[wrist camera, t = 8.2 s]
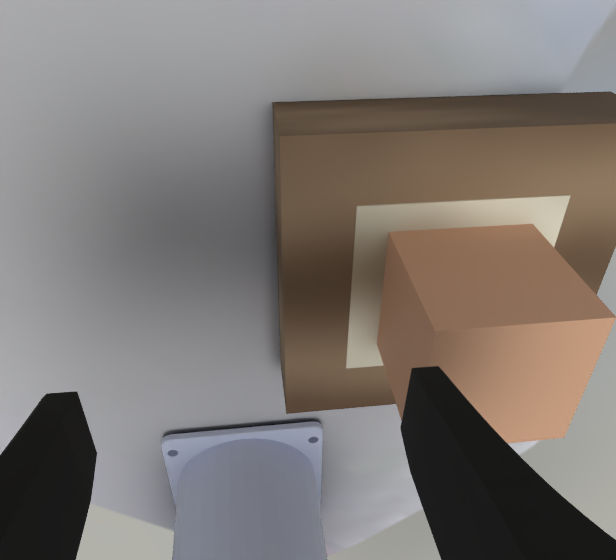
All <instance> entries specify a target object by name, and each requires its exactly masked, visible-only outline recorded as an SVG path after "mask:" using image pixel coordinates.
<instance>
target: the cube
mask: <svg viewBox="0 0 616 560" xmlns="http://www.w3.org/2000/svg"><path fill="white" fill-rule="evenodd" d="M615 319H616V316H615V315H614V314H613V313H612V312H611V311H610V310H609V309H608V308H607V306H606V305H605V304H604V303H603V302H602V301H601V300H600V299H599V297H598V296H597V295H596V294H595V293H594V292H593V291H592V290H591V288H590V287H589V286H588V285H587V284H586V283H585V282H584V281H583V280H582V278H581V277H580V276H579V275H578V274H577V273H576V272H575V271H574V269H573V268H572V267H571V266H570V265H569V264H568V263H567V262H566V260H565V259H564V258H563V257H562V256H561V255H560V254H559V253H558V252H557V250H556V249H555V248H554V247H553V246H552V245H551V244H550V243H549V241H548V240H547V239H546V238H545V237H544V236H543V235H542V234H541V232H540V231H539V230H538V229H537V228H536V227H535V226H534V225H533V224H519V225H501V226H484V227H466V228H448V229H431V230H413V231H396V232H389V236H388V245H387V254H386V263H385V273H384V282H383V291H382V300H381V310H380V319H379V328H378V337H377V346H378V349H379V352H380V355H381V359H382V362H383V365H384V368H385V371H386V374H387V377H388V380H389V383H390V386H391V389H392V392H393V395H394V398H395V402H396V405H397V408H398V411H399V414H400V417H401V420H402V417H403V412H404V407H405V401H406V396H407V391H408V385H409V380H410V375H411V369H412V368H418V367H432V366H439V367H440V368H441V369H442V370H443V371H444V373H445V374H446V375H447V376H448V377H449V379H450V380H451V381H452V382H453V383H454V384H455V386H456V387H457V388H458V389H459V390H460V392H461V393H462V394H463V395H464V396H465V397H466V399H467V400H468V401H469V402H470V403H471V404H472V405H473V407H474V408H475V409H476V410H477V411H478V412H479V413H480V415H481V416H482V417H483V418H484V419H485V420H486V421H487V422H488V423H489V425H490V426H491V427H492V428H493V429H494V430H495V431H496V432H497V433H498V434H499V435H500V436H501V437H502V438H503V439H504V440H505V442H506V443H515V442H525V441H535V440H545V439H555V438H564V437H565V434H566V432H567V429H568V427H569V425H570V423H571V420H572V418H573V416H574V414H575V411H576V409H577V407H578V404H579V402H580V400H581V398H582V395H583V393H584V391H585V388H586V386H587V384H588V381H589V379H590V377H591V375H592V372H593V370H594V368H595V365H596V363H597V361H598V358H599V356H600V354H601V352H602V349H603V347H604V345H605V342H606V340H607V338H608V335H609V333H610V331H611V329H612V326H613V324H614V322H615Z"/></svg>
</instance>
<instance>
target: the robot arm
mask: <svg viewBox="0 0 616 560" xmlns="http://www.w3.org/2000/svg"><path fill="white" fill-rule="evenodd" d="M401 432H402V437H403V442H404V446H405V451H406V455H407V459H408V464H409V468H410V472H411V475H412V478H413V481H414V483H415V486H416V489H417V492H418V495H419V498H420V501H421V503H422V506H423V509H424V512H425V515H426V517H427V520H428V523H429V526H430V529H431V531H432V534H433V537H434V540H435V543H436V545H437V548H438V551H439V554H440V557H441V559H442V560H616V540H615V539H614V538H612V537H611V536H610V535H608V534H607V533H605V532H604V531H603V530H602V529H601V528H599V527H598V526H597V525H596V524H594V523H593V522H592V521H590V520H589V519H588V518H587V517H586V516H584V515H583V514H582V513H581V512H580V511H579V510H577V509H576V508H575V507H574V506H573V505H572V504H570V503H569V502H568V501H567V500H566V499H565V498H563V497H562V496H561V495H560V494H559V493H558V492H557V491H556V490H554V489H553V488H552V487H551V486H550V485H549V484H548V483H547V482H546V481H545V480H544V479H543V478H542V477H540V476H539V475H538V474H537V473H536V472H535V471H534V470H533V469H532V468H531V467H530V466H529V465H528V464H527V463H526V462H525V461H524V460H523V459H522V458H521V457H520V456H519V455H518V454H517V453H516V452H515V451H514V450H513V449H512V448H511V447H510V446H509V445H508V444H507V443H506V442H505V440H504V439H503V438H502V437H501V436H500V435H499V434H498V433H497V432H496V431H495V430H494V429H493V428H492V427H491V426H490V425H489V423H488V422H487V421H486V420H485V419H484V418H483V417H482V416H481V415H480V413H479V412H478V411H477V410H476V409H475V408H474V407H473V405H472V404H471V403H470V402H469V401H468V400H467V399H466V397H465V396H464V395H463V394H462V393H461V392H460V390H459V389H458V388H457V387H456V386H455V384H454V383H453V382H452V381H451V380H450V379H449V377H448V376H447V375H446V374H445V373H444V371H443V370H442V369H441V368H440V367H439V366H432V367H418V368H412V369H411V375H410V380H409V385H408V391H407V396H406V401H405V407H404V412H403V417H402V423H401ZM161 448H162V452H163V457H164V461H165V465H166V469H167V474H168V478H169V482H170V486H171V490H172V495H173V499H174V503H175V507H176V519H175V531H174V545H173V557H172V560H327V555H326V548H325V542H324V535H323V528H322V522H321V515H320V507H321V479H322V451H323V428H322V425H321V424H320V423H319V422H314V421H312V422H301V423H290V424H279V425H268V426H257V427H246V428H235V429H224V430H214V431H203V432H192V433H181V434H170V435H167V436H165V437H164V438H163V439H162V444H161ZM96 456H97V452H96V449H95V446H94V443H93V440H92V436H91V433H90V430H89V427H88V424H87V421H86V418H85V415H84V412H83V408H82V405H81V402H80V399H79V396H78V393H77V392H64V393H50V394H46V395H45V396H44V397H43V398H42V399H41V401H40V402H39V403H38V405H37V406H36V408H35V409H34V410H33V412H32V413H31V414H30V416H29V417H28V419H27V420H26V421H25V423H24V424H23V425H22V427H21V428H20V430H19V431H18V432H17V434H16V435H15V436H14V438H13V439H12V440H11V442H10V443H9V444H8V446H7V447H6V448H5V450H4V451H3V452H2V454H1V455H0V560H75V559H76V556H77V552H78V548H79V544H80V540H81V537H82V533H83V529H84V525H85V521H86V517H87V513H88V509H89V505H90V501H91V494H92V487H93V480H94V472H95V464H96Z"/></svg>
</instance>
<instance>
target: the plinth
mask: <svg viewBox="0 0 616 560" xmlns="http://www.w3.org/2000/svg"><path fill="white" fill-rule="evenodd" d="M273 132H274V164H275V196H276V228H277V261H278V293H279V325H280V357H281V370H282V379H283V388H284V397H285V405H286V414H288V413H299V412H310V411H322V410H333V409H344V408H355V407H366V406H377V405H389V404H396V402H395V398H394V395H393V392H392V389H391V386H390V383H389V380H388V377H387V374H386V371H385V368H384V365H383V362H382V359H381V355H380V352H379V349H378V346H377V337H378V328H379V319H380V310H381V300H382V291H383V282H384V273H385V263H386V254H387V245H388V236H389V232H396V231H413V230H431V229H448V228H466V227H484V226H501V225H519V224H533V225H534V226H535V227H536V228H537V229H538V230H539V231H540V232H541V234H542V235H543V236H544V237H545V238H546V239H547V240H548V241H549V243H550V244H551V245H552V246H553V247H554V248H555V249H556V250H557V252H558V253H559V254H560V255H561V256H562V257H563V258H564V259H565V260H566V262H567V263H568V264H569V265H570V266H571V267H572V268H573V269H574V271H575V272H576V273H577V274H578V275H579V276H580V277H581V278H582V280H583V281H584V282H585V283H586V284H587V285H588V286H589V287H590V288H591V290H592V291H593V292H594V293H595V294H596V295H597V292H598V289H599V287H600V285H601V282H602V279H603V277H604V274H605V271H606V269H607V267H608V264H609V262H610V259H611V257H612V254H613V252H614V249H615V247H616V94H614V93H612V92H585V93H554V94H523V95H492V96H461V97H431V98H400V99H369V100H338V101H307V102H277V103H273Z"/></svg>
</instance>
